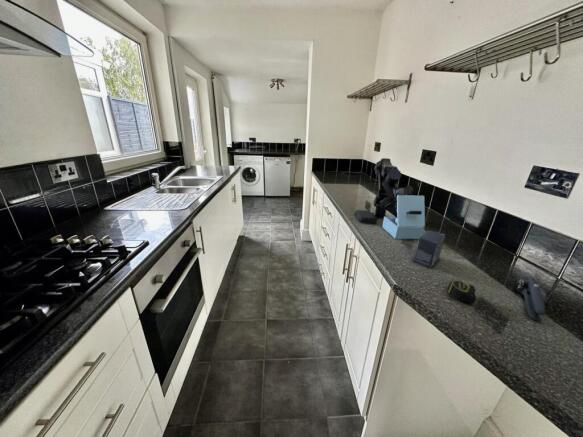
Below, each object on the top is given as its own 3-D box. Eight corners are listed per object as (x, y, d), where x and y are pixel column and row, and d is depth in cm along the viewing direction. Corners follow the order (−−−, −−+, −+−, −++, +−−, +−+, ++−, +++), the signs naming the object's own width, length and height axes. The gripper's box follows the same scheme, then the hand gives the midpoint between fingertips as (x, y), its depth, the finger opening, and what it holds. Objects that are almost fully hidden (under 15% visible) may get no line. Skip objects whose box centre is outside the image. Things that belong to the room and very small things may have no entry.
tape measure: (472, 308, 66) (477, 297, 64) (445, 297, 70) (448, 287, 68) (473, 295, 71) (477, 285, 70) (447, 286, 75) (450, 276, 73)
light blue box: (382, 226, 119) (384, 216, 117) (405, 227, 120) (407, 216, 118) (395, 238, 106) (397, 227, 104) (420, 238, 107) (424, 227, 105)
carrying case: (379, 224, 122) (371, 214, 135) (380, 219, 121) (372, 209, 134) (359, 223, 122) (353, 213, 135) (360, 218, 121) (354, 209, 134)
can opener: (512, 285, 77) (519, 270, 75) (542, 294, 73) (550, 280, 70) (515, 315, 64) (524, 298, 62) (551, 328, 60) (562, 312, 58)
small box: (421, 252, 95) (428, 229, 91) (439, 258, 91) (446, 234, 87) (412, 261, 88) (418, 236, 84) (430, 268, 84) (438, 243, 80)
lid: (397, 195, 105) (402, 194, 101) (423, 196, 106) (429, 194, 102) (397, 226, 104) (402, 226, 100) (423, 226, 105) (430, 226, 101)
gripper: (388, 181, 106) (403, 211, 101) (417, 179, 113) (431, 207, 108) (373, 193, 115) (386, 221, 110) (400, 190, 123) (413, 217, 118)
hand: (404, 216), depth 111 cm, fingers open, 9 cm apart
